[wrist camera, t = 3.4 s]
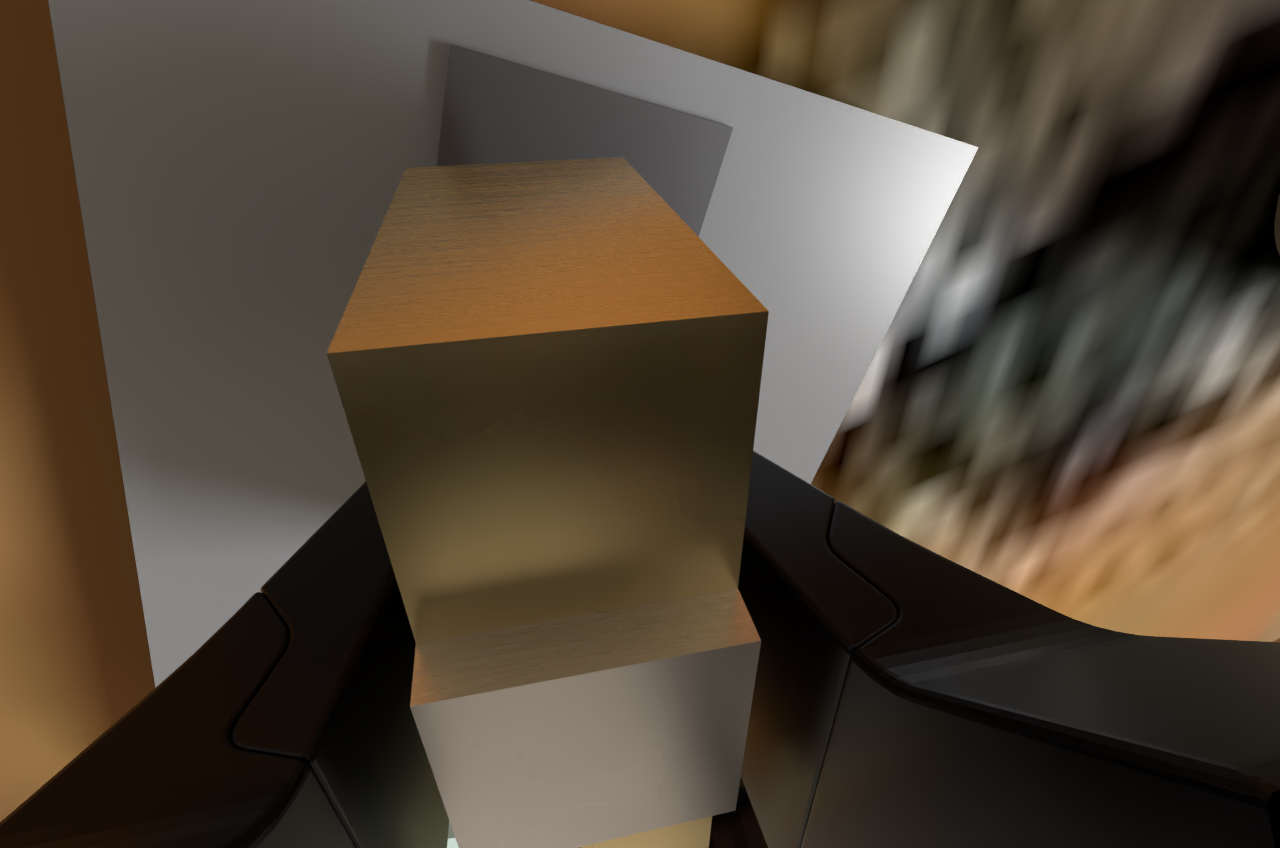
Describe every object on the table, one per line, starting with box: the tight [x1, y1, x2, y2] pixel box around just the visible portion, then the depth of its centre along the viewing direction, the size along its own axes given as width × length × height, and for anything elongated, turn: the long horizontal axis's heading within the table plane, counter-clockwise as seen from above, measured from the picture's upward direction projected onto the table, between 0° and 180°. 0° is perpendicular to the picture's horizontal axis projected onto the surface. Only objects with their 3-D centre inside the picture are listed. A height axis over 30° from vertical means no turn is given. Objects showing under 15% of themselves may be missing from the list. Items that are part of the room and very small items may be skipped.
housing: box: [48, 0, 979, 688], centre depth 14 cm, size 12×20×3 cm, turn 163°
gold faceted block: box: [327, 157, 769, 848], centre depth 7 cm, size 2×7×5 cm, turn 179°
